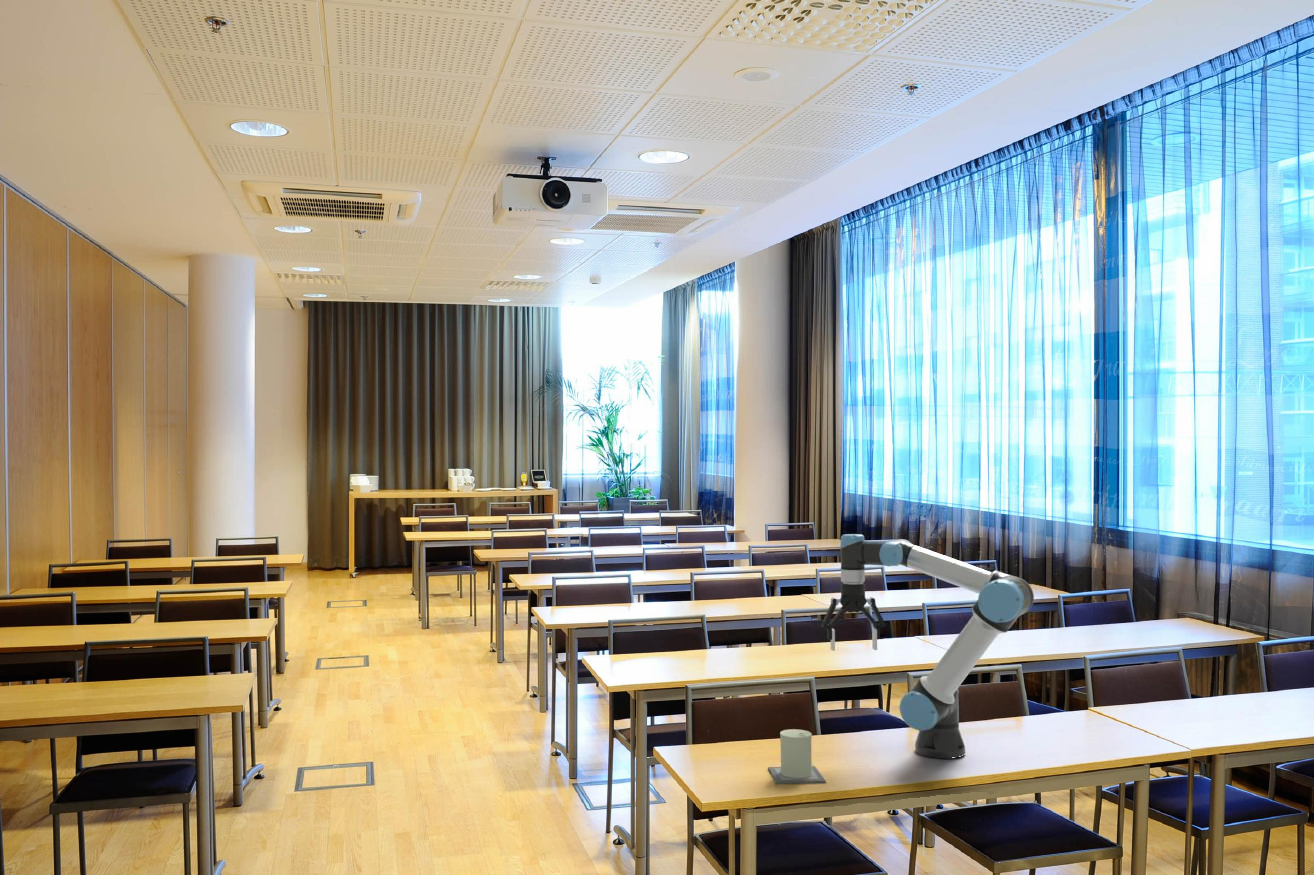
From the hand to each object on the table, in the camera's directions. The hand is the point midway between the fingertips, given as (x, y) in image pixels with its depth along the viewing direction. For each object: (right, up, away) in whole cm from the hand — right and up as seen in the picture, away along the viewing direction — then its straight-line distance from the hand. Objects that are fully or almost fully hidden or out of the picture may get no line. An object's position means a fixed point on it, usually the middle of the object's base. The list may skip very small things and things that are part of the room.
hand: (853, 649), depth 300 cm
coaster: (-22, -31, -27) cm, 46 cm away
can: (-22, -30, -27) cm, 46 cm away
